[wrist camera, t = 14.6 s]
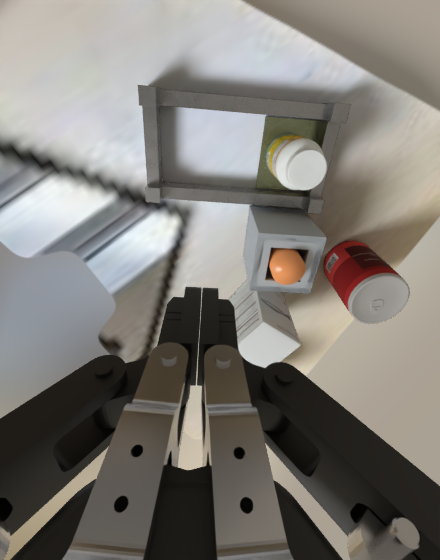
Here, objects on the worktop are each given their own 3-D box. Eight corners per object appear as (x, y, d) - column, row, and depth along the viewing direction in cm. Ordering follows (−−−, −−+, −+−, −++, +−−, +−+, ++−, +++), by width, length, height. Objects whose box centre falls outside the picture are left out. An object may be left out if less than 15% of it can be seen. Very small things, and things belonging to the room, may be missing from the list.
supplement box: (284, 293, 48) (303, 346, 38) (255, 318, 51) (266, 374, 41) (252, 271, 46) (264, 321, 35) (225, 299, 49) (228, 353, 38)
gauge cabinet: (243, 255, 44) (249, 290, 36) (249, 206, 40) (259, 233, 31) (293, 258, 44) (311, 293, 36) (304, 210, 40) (328, 237, 32)
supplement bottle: (257, 160, 36) (270, 176, 28) (285, 123, 34) (307, 128, 26) (286, 185, 38) (306, 206, 30) (315, 151, 36) (344, 164, 28)
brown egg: (261, 259, 39) (269, 283, 34) (266, 232, 37) (275, 254, 31) (289, 260, 39) (301, 285, 34) (295, 234, 37) (309, 256, 32)
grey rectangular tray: (152, 193, 39) (146, 201, 35) (146, 87, 32) (138, 84, 29) (311, 204, 40) (320, 213, 36) (337, 104, 33) (351, 104, 30)
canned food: (327, 287, 48) (355, 331, 38) (316, 250, 44) (344, 289, 35) (372, 271, 46) (412, 313, 37) (365, 231, 42) (408, 266, 33)
